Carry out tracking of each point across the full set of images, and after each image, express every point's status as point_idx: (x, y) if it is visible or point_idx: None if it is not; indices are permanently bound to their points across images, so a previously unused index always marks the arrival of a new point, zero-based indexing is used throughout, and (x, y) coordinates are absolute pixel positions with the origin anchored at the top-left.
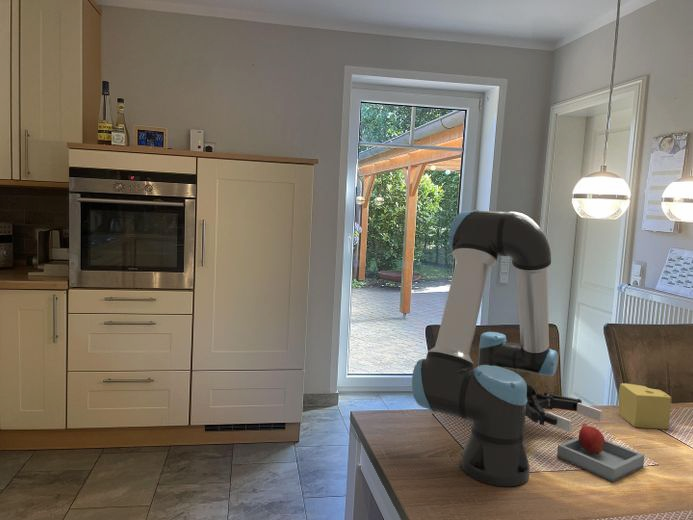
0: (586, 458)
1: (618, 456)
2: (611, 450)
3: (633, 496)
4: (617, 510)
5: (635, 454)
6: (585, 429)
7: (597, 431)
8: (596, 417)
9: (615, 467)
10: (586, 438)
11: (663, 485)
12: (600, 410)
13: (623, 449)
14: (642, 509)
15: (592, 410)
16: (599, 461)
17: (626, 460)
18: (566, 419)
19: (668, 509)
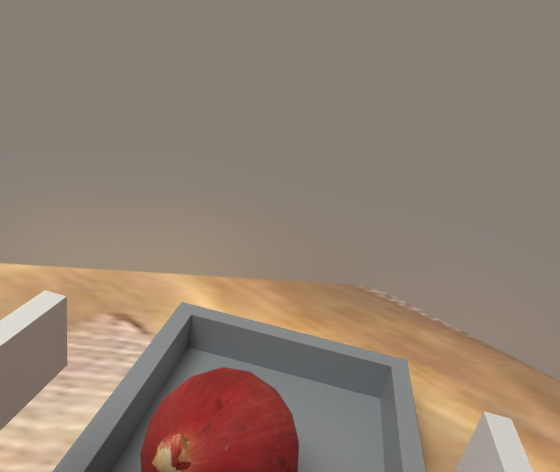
0: (421, 454)
1: (159, 398)
2: (139, 414)
3: (416, 354)
4: (530, 375)
5: (187, 324)
6: (260, 431)
7: (244, 371)
8: (46, 366)
9: (387, 358)
10: (298, 446)
11: (273, 308)
12: (43, 297)
13: (167, 353)
14: (455, 338)
15: (12, 352)
16: (400, 403)
17: (289, 337)
18: (513, 447)
19: (392, 305)
